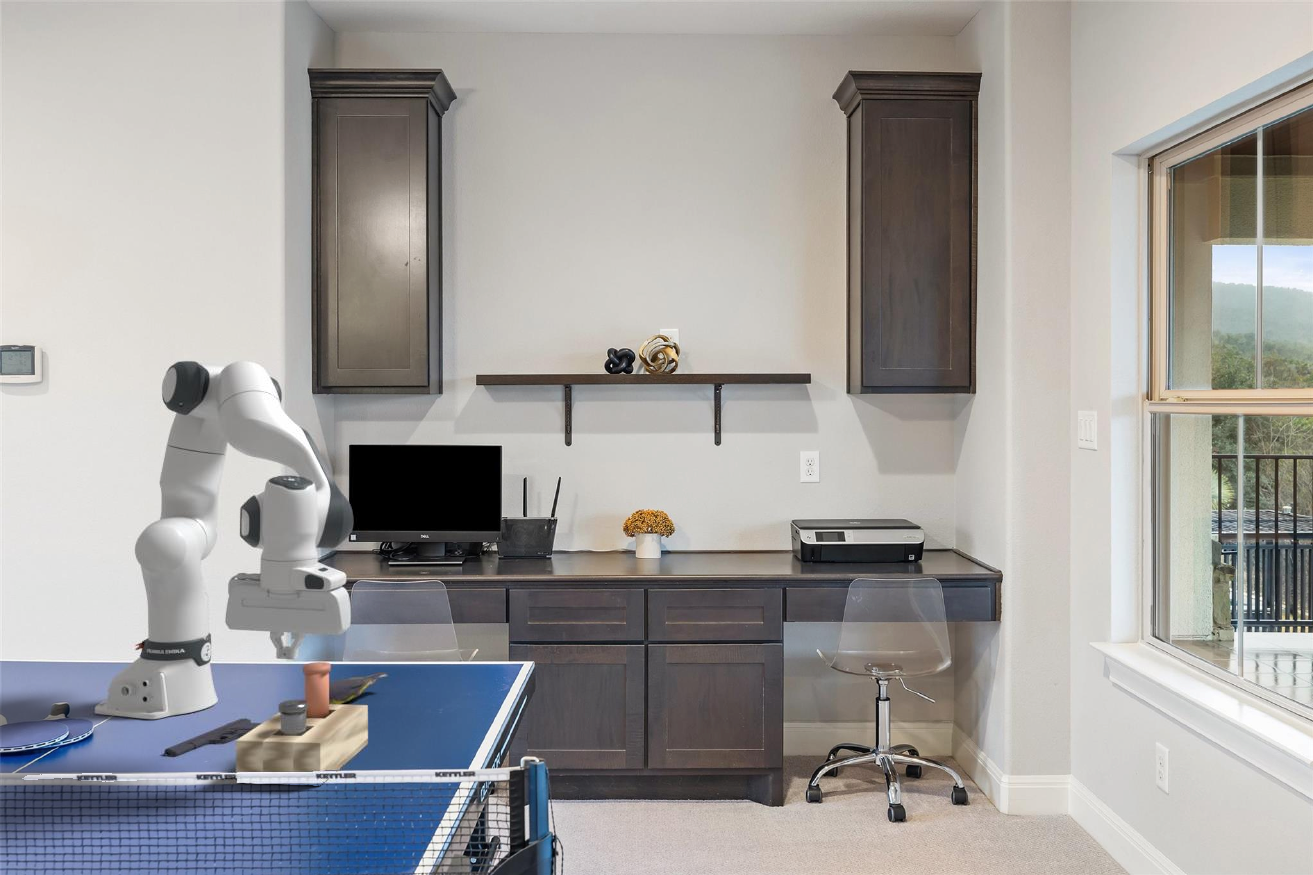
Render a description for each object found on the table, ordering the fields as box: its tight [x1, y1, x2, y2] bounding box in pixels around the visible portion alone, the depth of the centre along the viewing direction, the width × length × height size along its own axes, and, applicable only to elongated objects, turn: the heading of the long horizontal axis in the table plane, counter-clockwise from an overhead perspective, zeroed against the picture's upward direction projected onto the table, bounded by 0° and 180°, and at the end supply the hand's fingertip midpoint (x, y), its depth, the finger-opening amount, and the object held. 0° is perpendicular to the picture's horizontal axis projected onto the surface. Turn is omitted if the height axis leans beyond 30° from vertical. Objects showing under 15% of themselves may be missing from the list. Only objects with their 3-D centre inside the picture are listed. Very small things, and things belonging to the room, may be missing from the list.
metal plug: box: [278, 699, 308, 736], centre depth 157 cm, size 5×5×10 cm
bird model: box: [329, 672, 389, 705], centre depth 196 cm, size 5×20×5 cm, turn 144°
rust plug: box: [302, 661, 332, 719], centre depth 166 cm, size 5×5×10 cm
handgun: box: [164, 718, 263, 757], centre depth 171 cm, size 18×2×12 cm
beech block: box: [235, 704, 369, 773], centre depth 161 cm, size 14×20×7 cm
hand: (287, 658), depth 156 cm, fingers closed
